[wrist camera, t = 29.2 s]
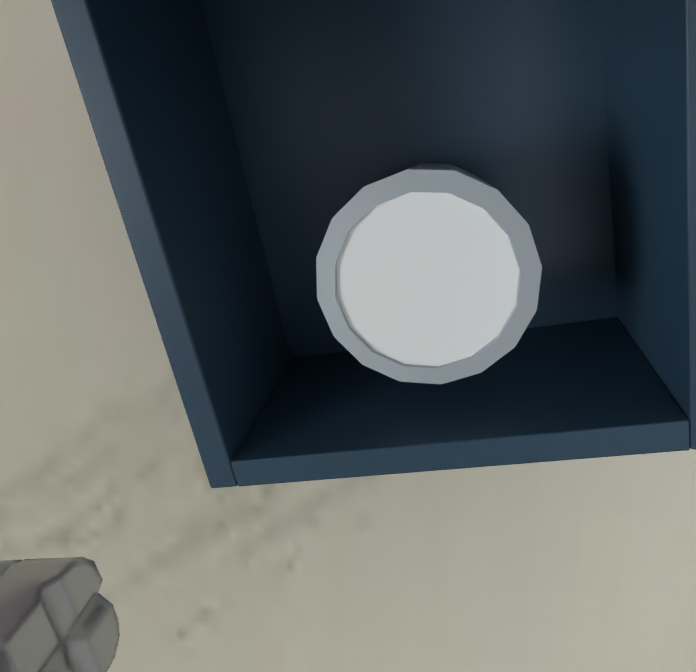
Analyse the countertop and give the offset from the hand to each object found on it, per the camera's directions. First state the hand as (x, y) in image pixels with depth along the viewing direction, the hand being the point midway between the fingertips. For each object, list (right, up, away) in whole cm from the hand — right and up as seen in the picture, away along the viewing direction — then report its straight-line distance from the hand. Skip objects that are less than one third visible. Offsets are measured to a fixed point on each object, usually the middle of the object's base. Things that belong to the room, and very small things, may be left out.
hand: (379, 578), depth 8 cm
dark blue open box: (+2, +11, +17) cm, 20 cm away
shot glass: (+3, +7, +17) cm, 19 cm away
